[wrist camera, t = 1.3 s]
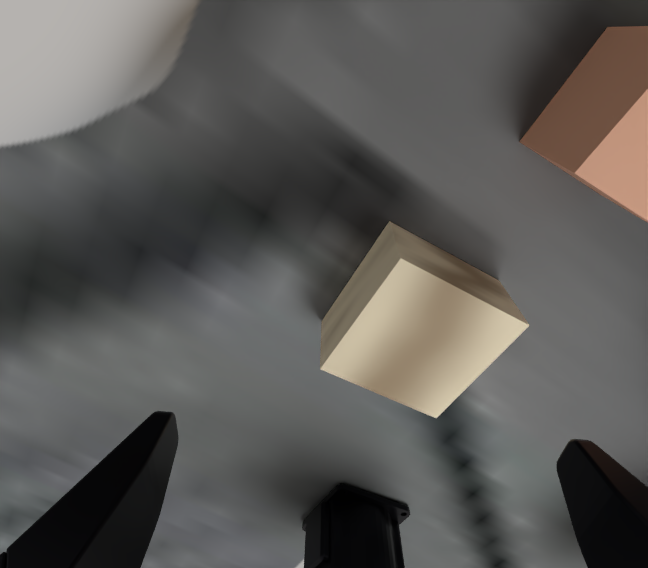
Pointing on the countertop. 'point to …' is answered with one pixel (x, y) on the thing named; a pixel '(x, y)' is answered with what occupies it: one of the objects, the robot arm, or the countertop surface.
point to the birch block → (417, 323)
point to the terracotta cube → (602, 120)
